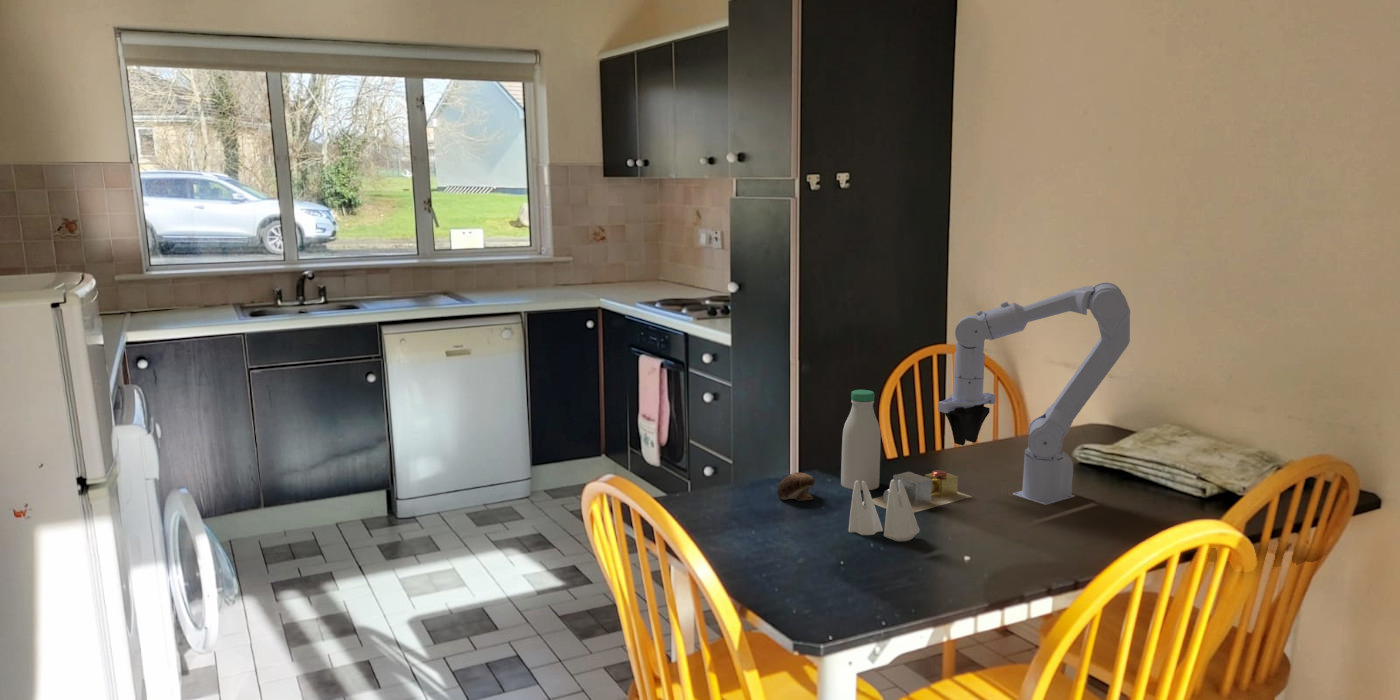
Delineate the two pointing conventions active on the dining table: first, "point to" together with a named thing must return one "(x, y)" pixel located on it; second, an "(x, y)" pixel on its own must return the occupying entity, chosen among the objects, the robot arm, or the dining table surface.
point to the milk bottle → (861, 443)
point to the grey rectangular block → (913, 488)
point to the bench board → (934, 503)
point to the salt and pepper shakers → (897, 514)
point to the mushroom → (796, 487)
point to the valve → (943, 483)
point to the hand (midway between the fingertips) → (965, 442)
